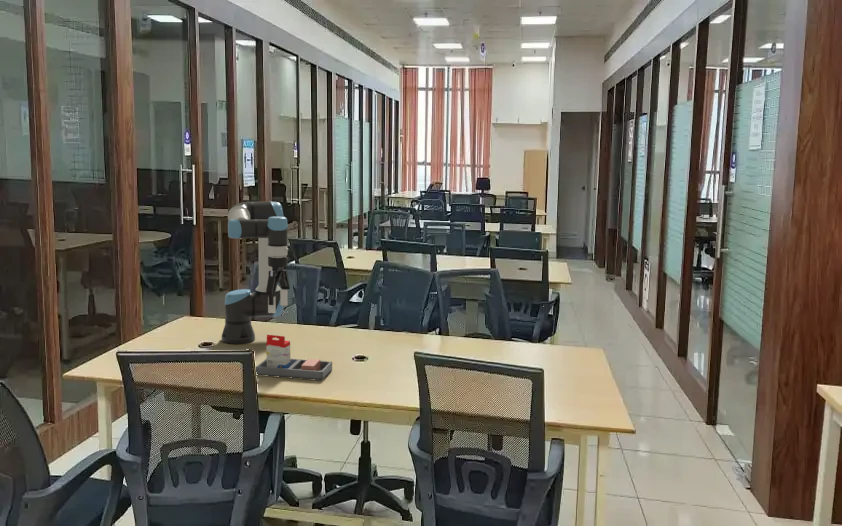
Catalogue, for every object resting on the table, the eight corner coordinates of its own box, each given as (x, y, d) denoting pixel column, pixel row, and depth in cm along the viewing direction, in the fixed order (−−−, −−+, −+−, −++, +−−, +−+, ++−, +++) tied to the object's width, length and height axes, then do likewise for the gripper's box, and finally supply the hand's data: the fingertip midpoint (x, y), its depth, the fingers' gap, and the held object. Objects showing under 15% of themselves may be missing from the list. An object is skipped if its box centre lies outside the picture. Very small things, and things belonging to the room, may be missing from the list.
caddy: (255, 375, 269) (255, 366, 269) (268, 365, 283) (268, 357, 282) (322, 380, 266) (322, 371, 265) (332, 370, 279) (332, 361, 278)
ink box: (291, 368, 276) (290, 333, 274) (285, 372, 271) (285, 336, 269) (272, 366, 279) (271, 331, 276) (266, 370, 274) (265, 334, 272)
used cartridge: (301, 375, 269) (301, 365, 268) (308, 368, 278) (308, 358, 277) (313, 375, 268) (313, 366, 268) (320, 369, 277) (320, 359, 276)
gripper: (275, 261, 255) (275, 316, 258) (297, 252, 279) (297, 302, 283) (256, 260, 256) (257, 315, 260) (279, 251, 280) (279, 301, 284)
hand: (278, 309), depth 271 cm, fingers open, 13 cm apart
